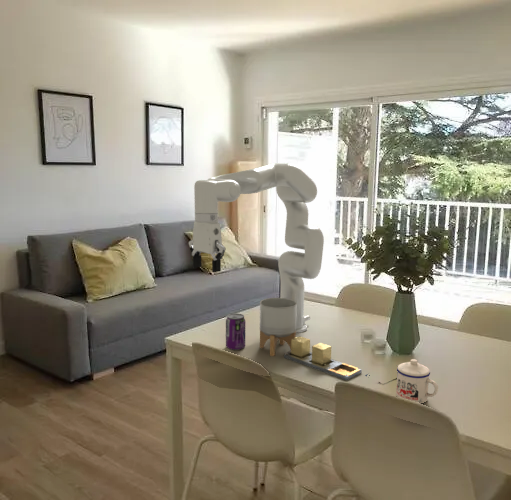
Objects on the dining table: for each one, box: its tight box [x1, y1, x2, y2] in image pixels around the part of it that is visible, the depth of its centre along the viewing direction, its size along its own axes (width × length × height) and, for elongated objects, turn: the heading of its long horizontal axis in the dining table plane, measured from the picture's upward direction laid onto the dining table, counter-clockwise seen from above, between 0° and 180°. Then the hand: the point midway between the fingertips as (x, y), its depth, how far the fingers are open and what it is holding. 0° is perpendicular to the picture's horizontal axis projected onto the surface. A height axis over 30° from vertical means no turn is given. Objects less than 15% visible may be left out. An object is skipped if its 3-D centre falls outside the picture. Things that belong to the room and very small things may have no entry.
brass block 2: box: [311, 342, 332, 366], centre depth 169 cm, size 4×4×6 cm
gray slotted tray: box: [283, 350, 362, 381], centre depth 169 cm, size 8×26×2 cm, turn 45°
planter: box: [259, 297, 297, 357], centre depth 181 cm, size 13×13×18 cm
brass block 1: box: [290, 335, 311, 359], centre depth 175 cm, size 4×4×6 cm
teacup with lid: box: [395, 358, 439, 404], centre depth 145 cm, size 12×9×12 cm
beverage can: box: [225, 313, 246, 351], centre depth 184 cm, size 7×7×12 cm
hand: (206, 269), depth 170 cm, fingers open, 9 cm apart
